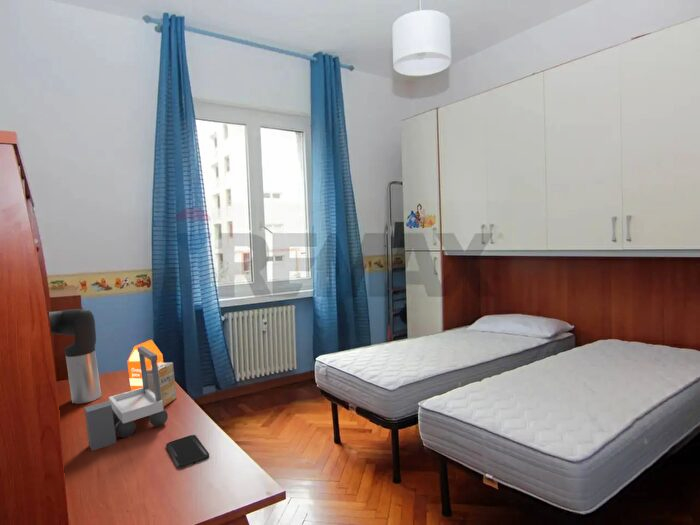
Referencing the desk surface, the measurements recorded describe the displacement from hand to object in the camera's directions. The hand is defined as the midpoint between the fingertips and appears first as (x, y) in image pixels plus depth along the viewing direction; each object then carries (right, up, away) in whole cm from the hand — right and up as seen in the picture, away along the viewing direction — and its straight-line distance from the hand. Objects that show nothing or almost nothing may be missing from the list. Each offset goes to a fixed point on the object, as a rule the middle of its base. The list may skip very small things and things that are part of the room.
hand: (48, 393), depth 113 cm
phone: (+36, -16, 0) cm, 40 cm away
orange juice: (+7, -14, +41) cm, 44 cm away
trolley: (+14, -15, +20) cm, 28 cm away
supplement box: (+15, -14, +35) cm, 41 cm away
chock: (+10, -17, +8) cm, 21 cm away
